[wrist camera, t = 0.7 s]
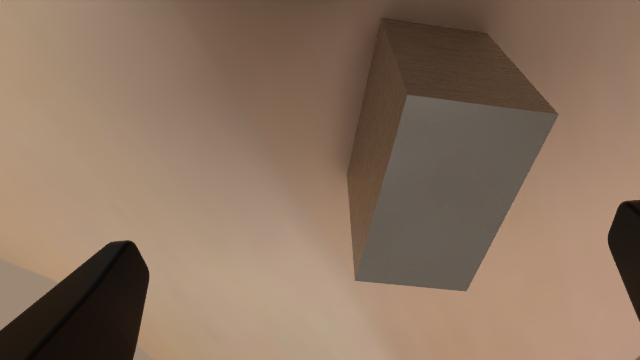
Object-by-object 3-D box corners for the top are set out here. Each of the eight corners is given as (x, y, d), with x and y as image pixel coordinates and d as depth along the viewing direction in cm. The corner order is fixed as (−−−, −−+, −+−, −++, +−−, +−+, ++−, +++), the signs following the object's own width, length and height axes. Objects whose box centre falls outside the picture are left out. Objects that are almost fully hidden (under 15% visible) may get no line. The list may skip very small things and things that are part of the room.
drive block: (486, 33, 18) (558, 114, 13) (431, 184, 23) (466, 291, 18) (381, 17, 18) (407, 94, 13) (346, 174, 23) (354, 280, 17)
